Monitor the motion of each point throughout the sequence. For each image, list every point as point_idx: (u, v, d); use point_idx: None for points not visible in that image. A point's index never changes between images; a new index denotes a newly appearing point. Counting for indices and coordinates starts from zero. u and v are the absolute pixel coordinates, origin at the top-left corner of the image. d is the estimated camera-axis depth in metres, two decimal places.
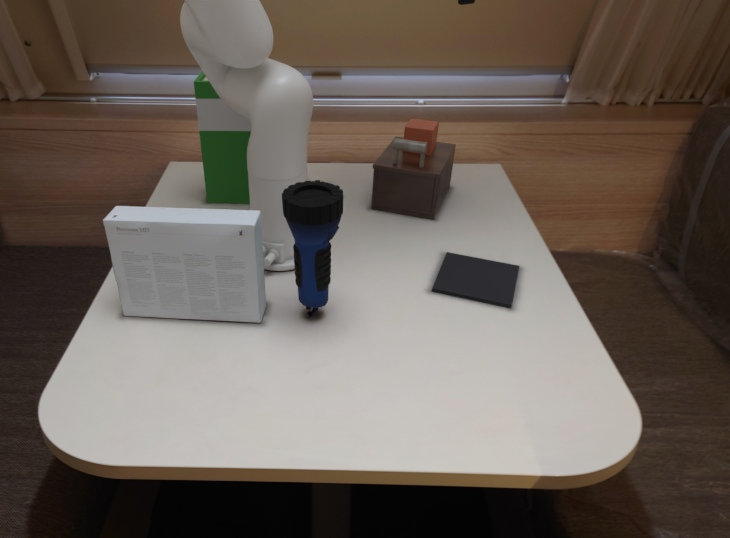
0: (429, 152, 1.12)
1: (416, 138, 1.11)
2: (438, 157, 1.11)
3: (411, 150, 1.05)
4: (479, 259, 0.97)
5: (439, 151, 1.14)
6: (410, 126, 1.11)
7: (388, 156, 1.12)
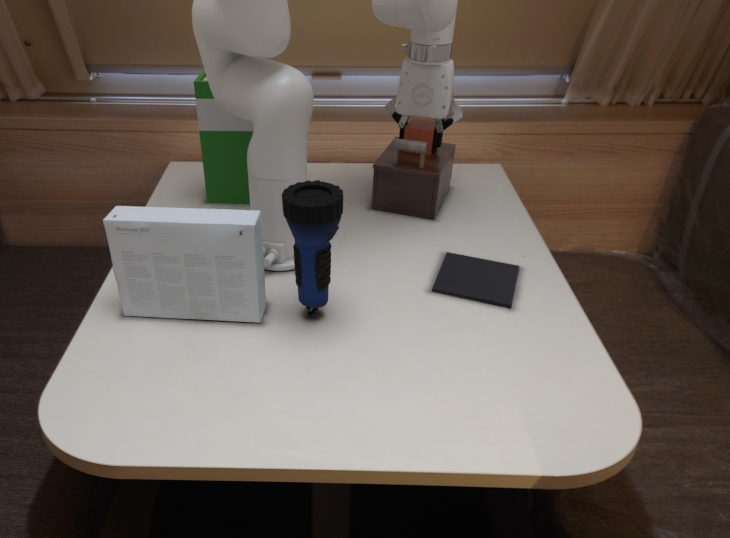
0: (429, 152, 1.12)
1: (416, 138, 1.11)
2: (438, 157, 1.11)
3: (411, 150, 1.05)
4: (479, 259, 0.97)
5: (439, 151, 1.14)
6: (410, 126, 1.11)
7: (388, 156, 1.12)
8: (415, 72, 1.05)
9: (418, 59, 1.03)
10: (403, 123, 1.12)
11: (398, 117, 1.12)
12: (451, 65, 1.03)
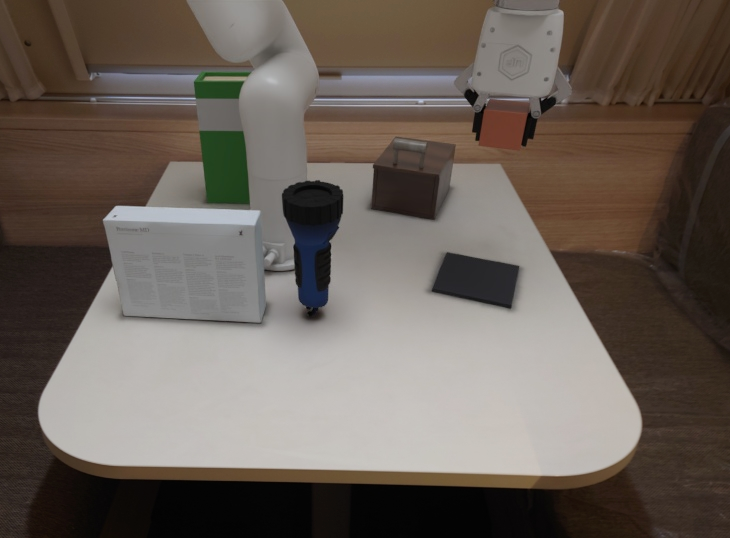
0: (519, 146, 0.78)
1: (500, 126, 0.77)
2: (438, 157, 1.11)
3: (411, 150, 1.05)
4: (479, 259, 0.97)
5: (439, 151, 1.14)
6: (492, 109, 0.77)
7: (388, 156, 1.12)
8: (506, 27, 0.71)
9: (513, 7, 0.69)
10: (481, 105, 0.78)
11: (473, 96, 0.78)
12: (562, 16, 0.69)
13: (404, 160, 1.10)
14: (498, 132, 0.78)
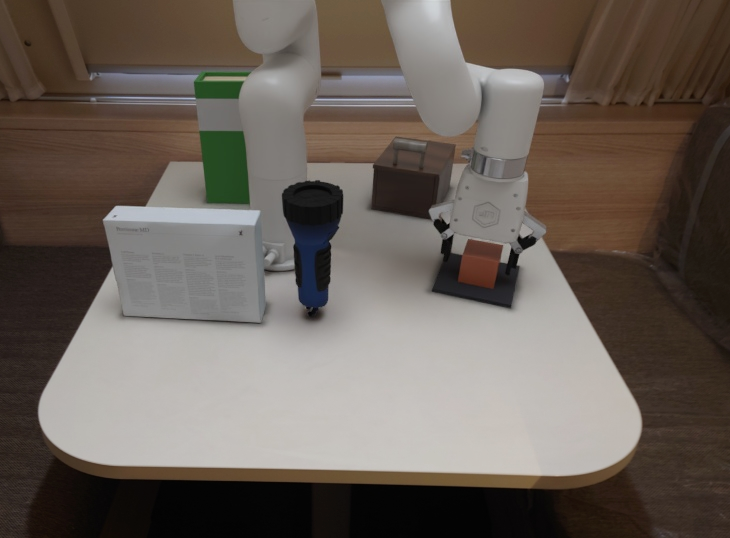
0: (492, 285, 0.90)
1: (476, 269, 0.89)
2: (438, 157, 1.11)
3: (411, 150, 1.05)
4: None
5: (439, 151, 1.14)
6: (469, 254, 0.89)
7: (388, 156, 1.12)
8: (478, 187, 0.82)
9: (485, 174, 0.80)
10: (447, 234, 0.89)
11: (441, 226, 0.90)
12: (526, 182, 0.80)
13: (404, 160, 1.10)
14: (474, 273, 0.90)
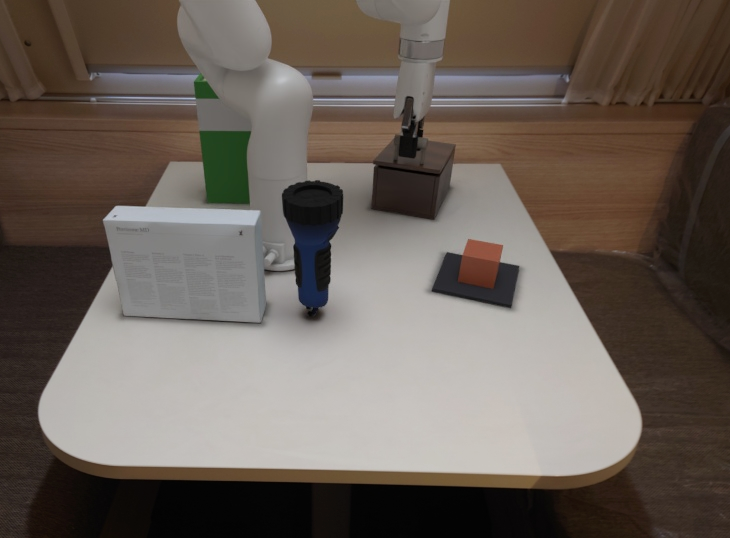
0: (492, 285, 0.90)
1: (476, 269, 0.89)
2: (438, 155, 1.11)
3: None
4: None
5: (439, 150, 1.14)
6: (469, 254, 0.89)
7: (388, 153, 1.12)
8: None
9: None
10: None
11: (413, 116, 1.07)
12: (405, 64, 0.95)
13: (404, 157, 1.10)
14: (474, 273, 0.90)
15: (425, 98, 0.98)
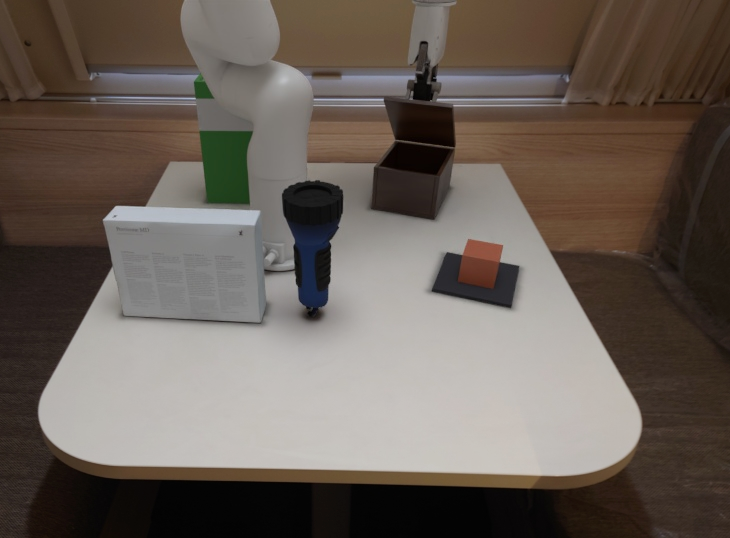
0: (492, 285, 0.90)
1: (476, 269, 0.89)
2: None
3: None
4: None
5: None
6: (469, 254, 0.89)
7: None
8: None
9: None
10: None
11: (426, 65, 1.08)
12: (419, 8, 0.96)
13: None
14: (474, 273, 0.90)
15: (439, 43, 0.99)
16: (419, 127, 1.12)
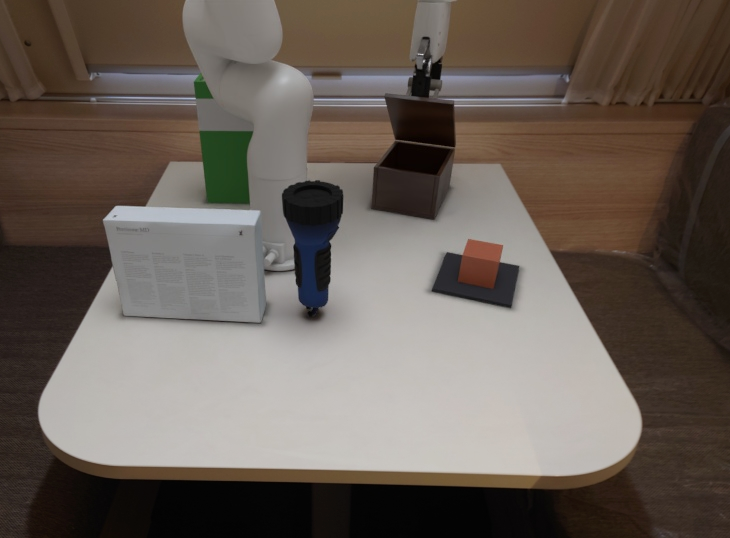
0: (492, 285, 0.90)
1: (476, 269, 0.89)
2: None
3: None
4: None
5: None
6: (469, 254, 0.89)
7: None
8: None
9: None
10: None
11: None
12: (421, 3, 0.97)
13: None
14: (474, 273, 0.90)
15: (441, 39, 1.00)
16: (419, 126, 1.13)
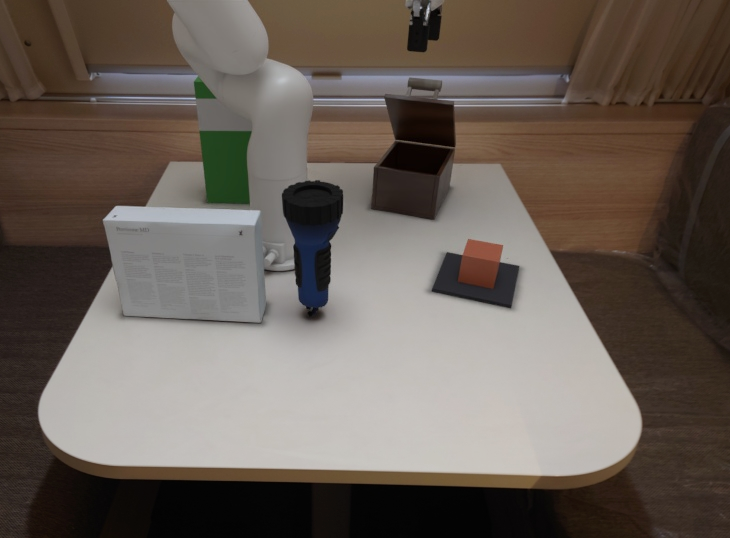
0: (492, 285, 0.90)
1: (476, 269, 0.89)
2: None
3: (426, 85, 1.05)
4: None
5: None
6: (469, 254, 0.89)
7: None
8: None
9: None
10: None
11: None
12: None
13: None
14: (474, 273, 0.90)
15: None
16: (419, 126, 1.13)
